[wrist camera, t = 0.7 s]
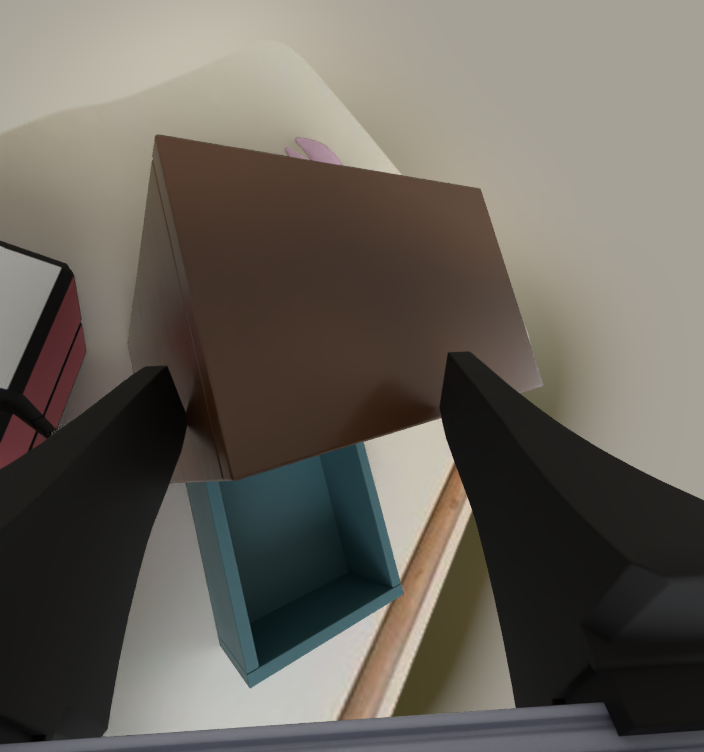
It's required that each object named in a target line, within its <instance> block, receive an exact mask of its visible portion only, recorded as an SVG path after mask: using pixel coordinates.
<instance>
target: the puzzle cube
mask: <svg viewBox="0 0 704 752" xmlns="http://www.w3.org/2000/svg"><path fill="white" fill-rule="evenodd" d="M85 353H86V345H85V339H84V333H83V327H82V323H81V313H80V307H79V301H78V295H77V289H76V283H75V277H74V274H73V272H72V271H71V269H70V268H69V266H68V265H67V264H66V263H63V262H60V261H57V260H54V259H51V258H49V257H46V256H43V255H40V254H37V253H34V252H31V251H28V250H25V249H22V248H20V247H17V246H14V245H11V244H8V243H5V242H2V241H0V469H1V468H3V467H5V466H6V465H8V464H9V463H11V462H13V461H14V460H16V459H18V458H19V457H21V456H22V455H24V454H25V453H27V452H29V451H30V450H32V449H33V448H35V447H36V446H38V445H39V444H41V443H42V442H43V441H45V440H46V439H48V436H47V435H46V434H48V433H50V432H52V431H54V430H56V429H57V426H58V424H59V421H60V418H61V416H62V413H63V411H64V408H65V405H66V403H67V400H68V398H69V395H70V392H71V390H72V387H73V385H74V382H75V379H76V377H77V374H78V372H79V369H80V366H81V364H82V361H83V359H84V356H85Z"/></svg>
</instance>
